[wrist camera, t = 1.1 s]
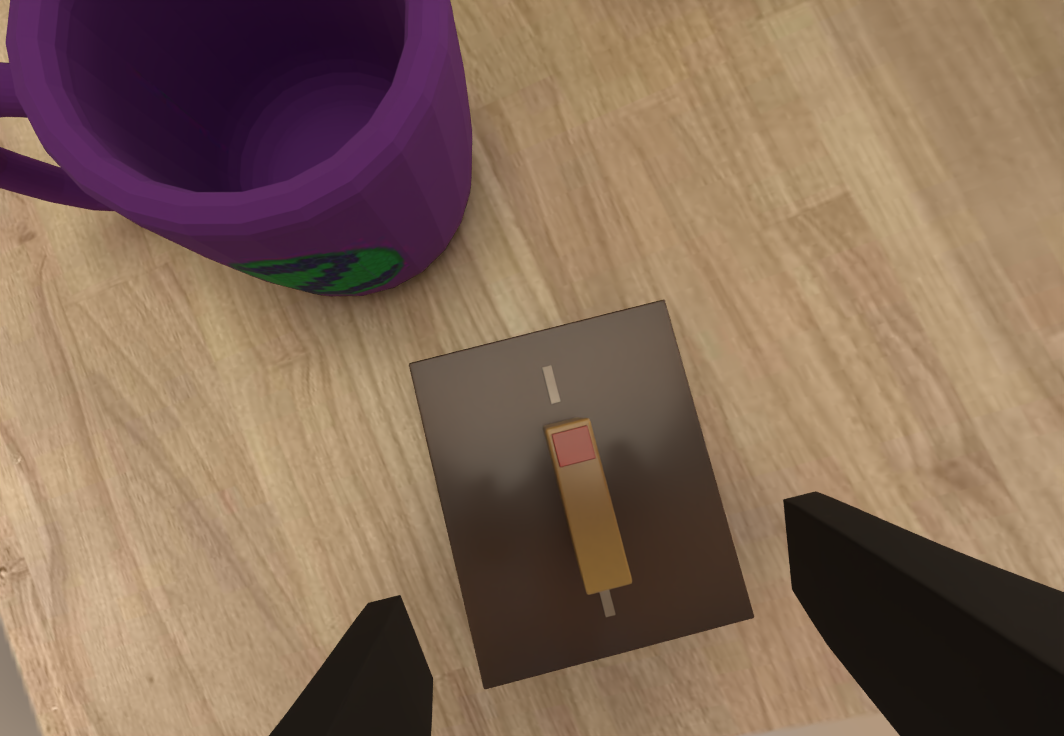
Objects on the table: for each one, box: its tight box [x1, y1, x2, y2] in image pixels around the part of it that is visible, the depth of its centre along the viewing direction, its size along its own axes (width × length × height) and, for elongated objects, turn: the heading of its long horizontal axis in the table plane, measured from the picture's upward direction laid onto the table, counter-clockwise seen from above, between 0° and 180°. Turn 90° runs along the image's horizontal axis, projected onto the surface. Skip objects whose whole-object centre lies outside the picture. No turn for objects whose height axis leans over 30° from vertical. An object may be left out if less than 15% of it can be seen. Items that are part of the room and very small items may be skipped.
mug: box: [0, 0, 472, 296], centre depth 17 cm, size 17×11×10 cm, turn 98°
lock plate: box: [409, 300, 754, 689], centre depth 20 cm, size 12×10×3 cm
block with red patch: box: [543, 417, 632, 595], centre depth 16 cm, size 5×1×4 cm, turn 14°
